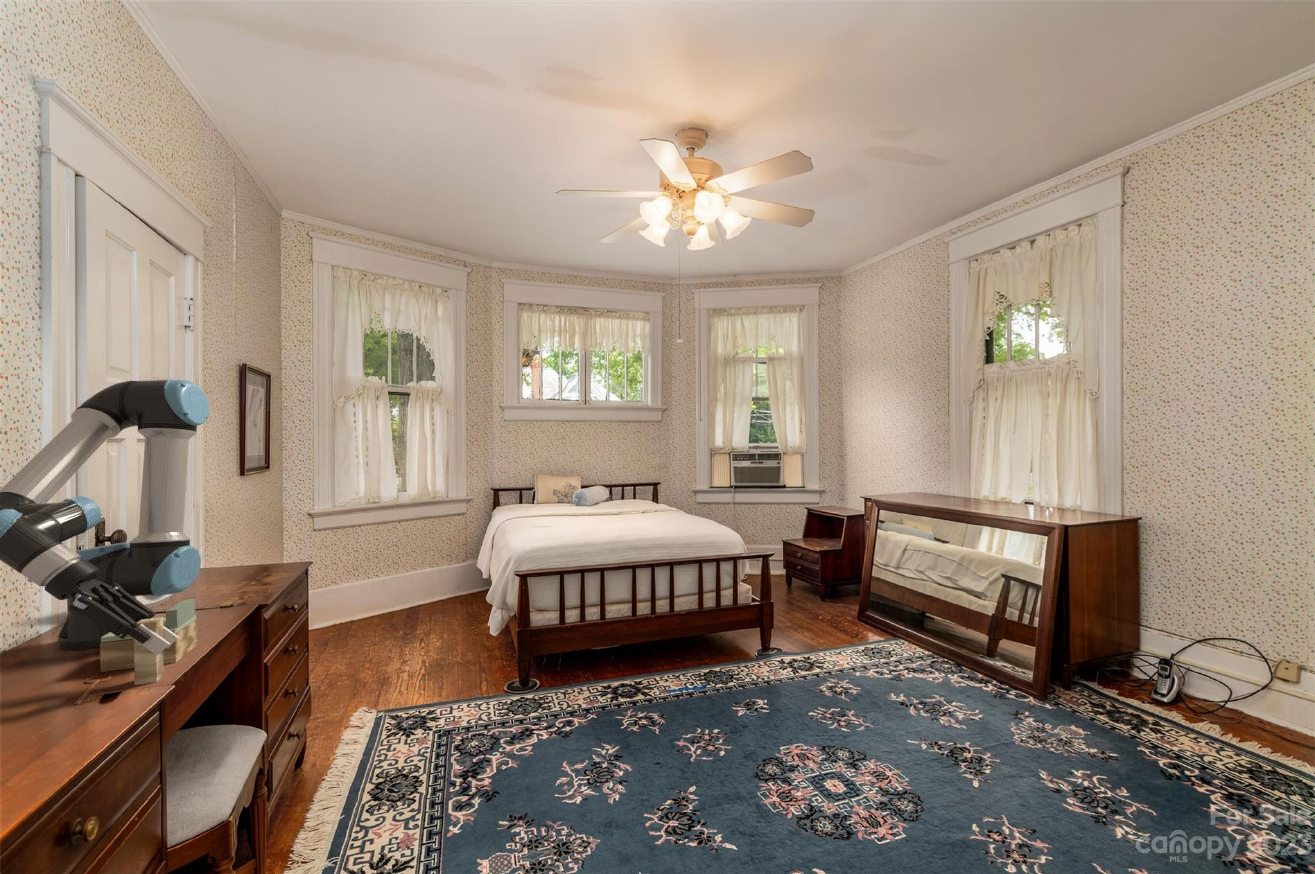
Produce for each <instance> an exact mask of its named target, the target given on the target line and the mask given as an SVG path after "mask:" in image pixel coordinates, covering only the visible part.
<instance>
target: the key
mask: <svg viewBox="0 0 1315 874" xmlns="http://www.w3.org/2000/svg"><path fill="white" fill-rule="evenodd" d="M110 679H112V675H104V674H103V675H97V676H92V677H89V678H87V679H85V683H86V684H89V686H88V687H87V688H86V690H85V691H84V692H83V693H82V695H80V697H79V698H78V699H77V700H76V701H75V702H74V704H78V705H80V704H79V703H80V702H83V703H86V702H85V701H88V700H92V701H99V700H98V698H99V697H102V696H104V695H103V693H104V692H99V693H92V691H93V690H94V689H95V688H96V687H97V686H98V684H99V683H101V682H105V681H108V680H110ZM90 693H91V694H90ZM101 695H102V696H101Z"/></svg>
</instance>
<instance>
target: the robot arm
mask: <svg viewBox="0 0 1315 874" xmlns="http://www.w3.org/2000/svg"><path fill="white" fill-rule="evenodd" d="M209 416H210V403H209V399H208V397H207V395H206V394H205V392H204V390H203V389H202V388H201V387H200V386H199V385H198V384H196V383H194V382H193V381H189V380H182V379H179V380H178V379H177V380H176V379H164V380H163V379H161V380H159V379H157V380H155V379H154V380H126V381H121V382H118V383H115V384H112V385H109V386H108V387H105V388H104V389H102V390H100V391H97V393H95V394H93V395H92V396H91V397H89V398H88V399H86V400H85V401H84V402H83V403H81V405H79V406H78V407H77V408H76V409H75V410H74V411H72V413H71V416H70V417H71V421H70V422H69V423H67V425H65V427H63V429H62V430H60V432H59V433H57V434H56V435H55V436H54V437H53V438H52V439H51V440H50V441H49V442H48V443H47V444H46V445H45V446H44V447H43V448H42V449H41V450H40V451H39V452H38V453H36V455H35V456H34V457H33V458H32V459H30V461H28V462H27V463H26V464H25V465H24V467H23V468H21V469H20V470H19V471H18V472H17V473H16V474H15V475H14V476H13V477H11V479H10V480H9V481H8V482H7V483H6V484H5V485H3V487H2V488H0V562H3V563H4V564H5V565H7V566H9V567H10V568H11V569H12V570H15V571H16V572H18V573H19V574H21V575H23V577H25V578H27V580H26V581H27V582H29V583H33V584H35V585H37V586H39V587H41V588H42V587H44V591H45V592H47V593H48V594H49V595H51V596H53V597H54V598H55V599H56V600H58V601H65V600H66V608H67V609H66V610H67V611H66V616H65V618H64V621H63V624H62V625H61V628H60V631H59V633H58V637H57V640H56V641H57V646H56V647H57V649H59V650H63V651H77V650H78V651H79V650H87V649H93V648H98V647H99V648H100V643H102V642H101V637H103V636H104V635H106V634H108V633H110V632H111V633H113V634H114V635H116V636H120V635H121V634H122V635H121V636H120V637H119V638H121V639H124V638H125V637H126V636H127V635H128V636H129V637H131V638H132V639H134V640H135V641H137V642H138V643H140V644H141V645H143V646H144V647H146V648H147V649H148V650H150V651H151V652H153V653H154V654H156V655H159V654H160V653H161V652H162V651H163V650H164V649H165V648H169V647H170V646H171V645H172V644H173V643H174V642H175V641H176V640H177V639H178V638H179V636H177V635H176V634H174V633H173V632H172V631H170V630H169V629H167V628H166V627H164V626H163V638H162V637H161V636H159V635H158V634H156V633H155V632H153V631H152V630H150V629H149V628H148V627H146V626H145V625H143V624H140V625H139V626H138V624H137V622H139V621H140V620H143V619H152V618H154V616H156V615H157V614H156V612H155V611H153V610H152V609H149V608H148V607H146V606H145V605H144V604H142V603H141V602H140V601H138V600H137V599H135V598H134V597H133V596H148V595H157V596H162V595H167V594H173V595H176V594H179V593H181V592H183V591H186V590H187V589H189V587H190V586H191V585H192V584H193V583H194V582H195V580H196V579H197V577H198V575H199V573H200V569H201V565H202V557H201V554H200V552H199V550H198V549H197V548H196V547H194V546H192V545H191V538H190V537H189V536H188V535H186V534H185V532H184V522H185V506H186V490H187V489H186V487H187V476H188V475H187V473H188V472H187V471H188V458H189V456H188V454H189V442H190V441H189V440H190V439H191V438H192V437H195V435H196V434H197V431H198V430H197V429H198V426H202V424H205V422H206V421H207V419H208V418H209ZM132 427H137V432H138V433H139V434H140V435H141V436H142V437H143V438H144V446H143V448H144V449H143V450H144V451H143V462H142V463H143V464H142V465H143V466H142V477H141V478H142V479H141V492H140V493H141V495H140V504H139V505H140V508H139V520H138V521H139V522H138V534H137V535H136V536H135V537H133V538H132V539H131V540H130V541H127V542H126V541H125V542H118V543H113V544H108V545H101V546H96V547H91V548H84V549H80V550H75V551H74V550H73V549H72V548H70V547H68V546H67V545H66V544H64V543H63V542H65V541H68V540H70V539H72V538H74V537H76V536H79V535H82V534H84V533H86V532H87V531H89V530H90V529H91V530H92V528H95V527H96V526H97V525H98V524H100V521H101V520H102V515H103V514H102V510H101V507H100V505H99V504H98V503H97V502H96V501H94V500H93V499H91V498H89V497H88V496H87V497H86V496H74V497H71V498H65V499H63V500H62V501H59V502H49V501H50V500H51V499H52V498H53V497H54V496H55V495H56V494H57V493H58V492H59V491H60V490H61V488H63V486H64V485H65V484H66V483H67V482H68V481H69V480H70V479H71V478H72V477H73V476H74V474H75V473H76V472H78V471H79V469H80V468H82V466H83V465H84V464H85V463H86V462H87V461H88V460H89V459H90V458H91V457H92V455H93V454H94V453H96V451H97V450H98V449H99V448H101V446H102V445H103V444H104V443H105V442H106V441H107V440H108V439H112V438H116V437H117V436H118V435H119V434H120V433H121V432H122V431H123V430H126V429H128V428H132ZM137 626H138V627H137Z"/></svg>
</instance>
